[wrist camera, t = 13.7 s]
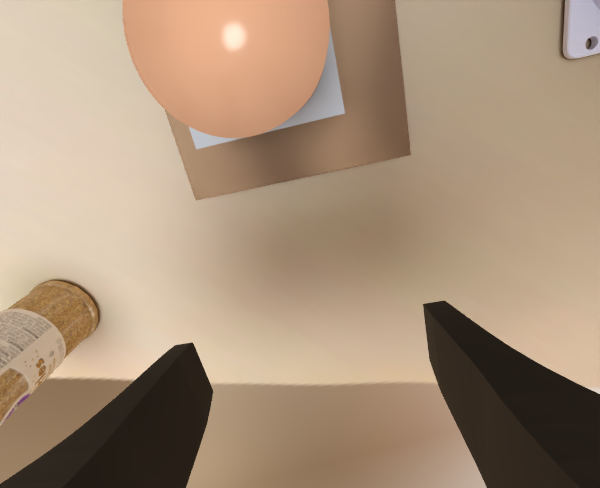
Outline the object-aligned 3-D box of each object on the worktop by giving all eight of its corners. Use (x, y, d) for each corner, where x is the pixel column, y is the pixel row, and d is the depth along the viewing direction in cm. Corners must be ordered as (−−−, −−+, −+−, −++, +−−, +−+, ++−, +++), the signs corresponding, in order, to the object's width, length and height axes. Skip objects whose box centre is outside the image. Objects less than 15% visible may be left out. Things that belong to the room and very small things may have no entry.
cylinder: (314, -42, 11) (313, -130, 6) (333, 112, 12) (341, 121, 8) (175, -12, 11) (90, -76, 7) (211, 133, 13) (159, 151, 9)
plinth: (373, -120, 14) (379, -145, 13) (403, 149, 19) (410, 154, 17) (127, -43, 16) (107, -58, 14) (205, 192, 20) (196, 200, 18)
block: (312, -33, 14) (311, -85, 10) (338, 108, 16) (345, 113, 12) (186, 5, 15) (136, -29, 11) (225, 136, 17) (196, 149, 13)
